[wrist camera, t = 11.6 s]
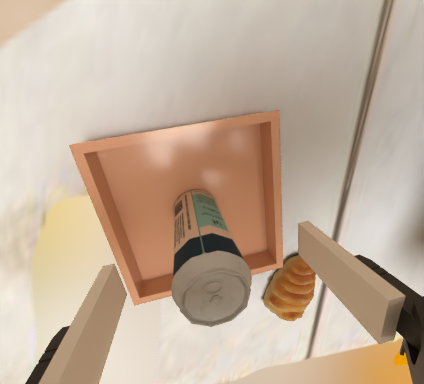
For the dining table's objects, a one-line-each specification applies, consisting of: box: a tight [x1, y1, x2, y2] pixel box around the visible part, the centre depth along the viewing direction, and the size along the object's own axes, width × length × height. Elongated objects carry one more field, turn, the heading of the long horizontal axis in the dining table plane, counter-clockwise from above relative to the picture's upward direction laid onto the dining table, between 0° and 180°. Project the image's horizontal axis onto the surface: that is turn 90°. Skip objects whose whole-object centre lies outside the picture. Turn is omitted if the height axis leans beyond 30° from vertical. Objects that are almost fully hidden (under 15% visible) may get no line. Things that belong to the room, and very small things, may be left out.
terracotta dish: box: [69, 110, 283, 305], centre depth 21 cm, size 18×18×4 cm
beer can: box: [171, 190, 252, 327], centre depth 16 cm, size 5×5×12 cm
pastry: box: [263, 255, 316, 321], centre depth 28 cm, size 9×7×4 cm
